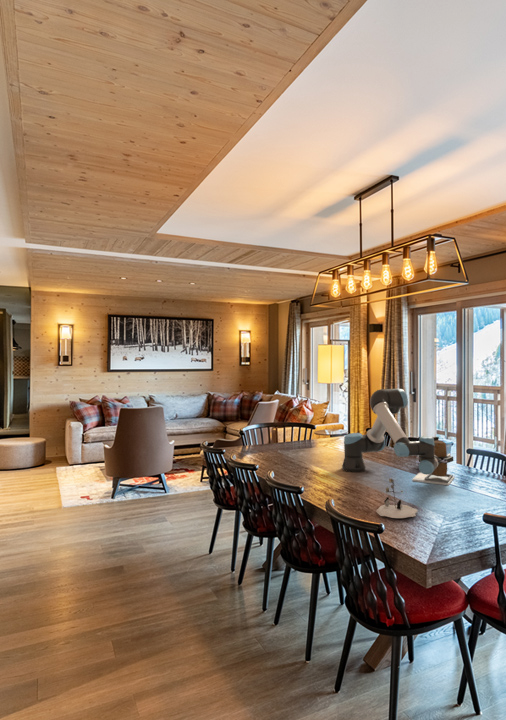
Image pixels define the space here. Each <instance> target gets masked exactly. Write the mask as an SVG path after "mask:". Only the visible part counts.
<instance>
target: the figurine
mask: <svg viewBox="0 0 506 720" xmlns="http://www.w3.org/2000/svg"><path fill="white" fill-rule="evenodd" d="M388 482H389V483H390V487H391V488H389V487H385V493H393V497H394V498H393V499H394V501H396V497H395V496H396V494H400V493H403V492H404V491H403V490H401V491H396V492H395V487H394V486H395V479H393V478H389V479H388ZM389 498H390V497H389V496H388V497H386V498H385V499H384V502H383V503H384V504H382V505H380V506H379V507H378V509H376V513H377V514H378V515H379V516H380V517H387V518H392V519H405V518H411V517H412V518H413V517H416V516H417V513H418V509H417V508H414V507H412V506H409V505H406V504H403V503H402V499H399V500H398V502H394V504H393V505H392V504H390V503H391V502H390V499H389Z"/></svg>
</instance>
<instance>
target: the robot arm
mask: <svg viewBox="0 0 506 720" xmlns="http://www.w3.org/2000/svg"><path fill="white" fill-rule="evenodd" d="M408 400H409V399H408V395H407V392H406V391H405V390H404V389H403V388H387V389H386V388H385V389H383V388H382V389H381V388H380V389H377V390H375V391H374V392H373V393H372V394H371V396H370V398H369V405H370V408H371V411H372V412H373V413H374V414H375V415H376V419H375V420H374V422H373V425H372V427H371V429H368V430H367V432H366V433H365V434H362V433H360V432H352V433H347V434H346V435H344V438H343V446H344V447H343V449H344V451H343V452H344V458H343V461H342V464H341V469H342V470H343V469H344V470H347V471H346V472H349V471H353V472H352V473H360V472H361V471H362V472H365V471H366V467H367V466H366V465H365V461H364V458H363V454H367V453H377V452H378V453H379V452H381V451H383V450H384V449H385V448H386V447H385V446H386V438H385V436H384V435H385V433H386V432H387V433H388V436H389V437H390V439H391V440H392V441H393V443H394V444H393V451H394V454H395V455H396V456H397V457H399V458H403V457H404V458H407V457H415V456H416V457H419V455H420V462H418V463H419V464H418V471H419V473H423V474H426V475H427V474H430V473H432V472H433V471H434V470H435V469H436V468H437V467H438V466H439V464H440V463H442V462H444V463H445V464H447V465H448V464H449V463H451V462H452V463H453V462H454V456H452V455H451V453H447V456H446V457H437V456H436V455H434V446H435V444H434V439H433V438H432V437H433V436H427V435H426V436H424V435H423V436H422V435H421V436H419V437H420V438H419V439H418V441H417V440H414V441H413V440H412V441H410V439H409V438H408V436H407V435H406V433H405V432H404V430H403V429H402V427H401V425H400V424H399V423H398V421H397V419H396V418H395V416H394V415H396V414H398V413H399V412H400V410H401V408H402V409H405V408H407V406H408V403H409V401H408ZM344 470H343V471H344Z"/></svg>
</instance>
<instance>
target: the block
mask: <svg viewBox="0 0 506 720" xmlns="http://www.w3.org/2000/svg"><path fill="white" fill-rule="evenodd" d="M438 440H439V439H438ZM438 440H437V441H434V444H435V446H434V455H436V456H437V457H446V456H447V455H448V452H447V445H446V442H445V441H444V440H439V441H438ZM432 474H433V475H435V476H440V477H444V476H446V475H447V474H448V463H447V464H445V463H444V462H442V463H440V464H439V466H438V467H437V468H436V469H435V470H434V471H433V472H432Z"/></svg>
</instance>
